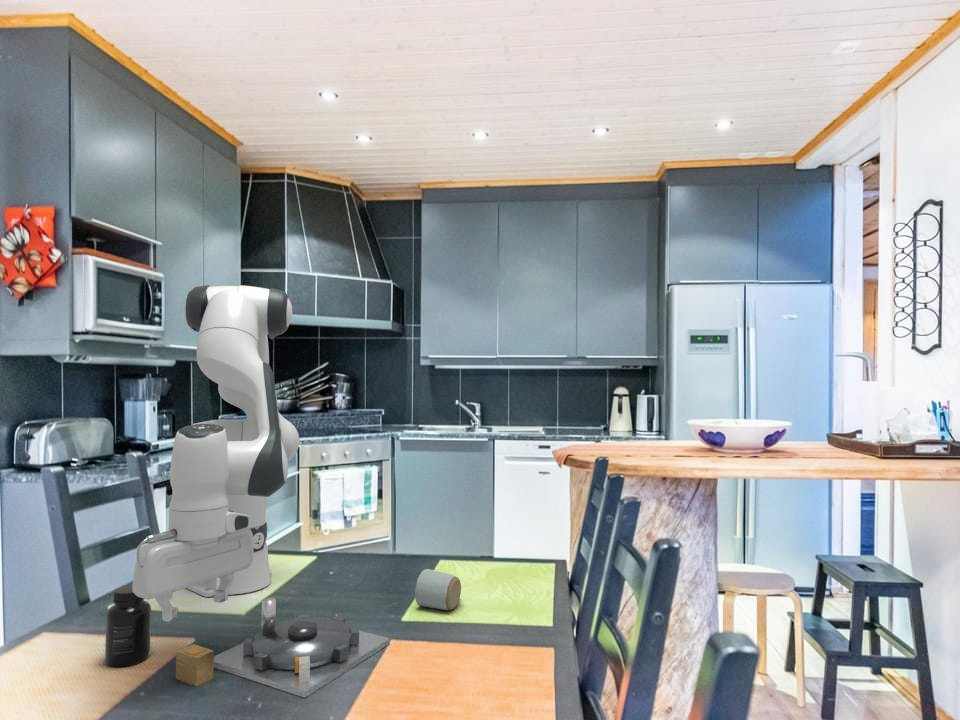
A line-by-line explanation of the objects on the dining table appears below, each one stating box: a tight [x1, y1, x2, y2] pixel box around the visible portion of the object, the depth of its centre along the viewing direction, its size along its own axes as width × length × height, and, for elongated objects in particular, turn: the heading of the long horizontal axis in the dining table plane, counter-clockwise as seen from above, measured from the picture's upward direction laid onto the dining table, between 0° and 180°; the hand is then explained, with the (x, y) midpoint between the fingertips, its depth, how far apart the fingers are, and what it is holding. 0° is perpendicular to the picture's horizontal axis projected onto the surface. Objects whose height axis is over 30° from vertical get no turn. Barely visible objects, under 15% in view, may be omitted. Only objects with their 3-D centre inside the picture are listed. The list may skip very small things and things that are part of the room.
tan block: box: [175, 643, 215, 688], centre depth 100 cm, size 5×3×5 cm, turn 63°
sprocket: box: [242, 597, 360, 673], centre depth 109 cm, size 20×20×8 cm
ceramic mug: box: [414, 568, 462, 611], centre depth 134 cm, size 11×8×8 cm
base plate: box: [214, 630, 391, 699], centre depth 109 cm, size 22×22×4 cm
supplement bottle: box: [104, 584, 152, 668], centre depth 106 cm, size 7×7×12 cm
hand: (196, 610), depth 100 cm, fingers open, 8 cm apart
